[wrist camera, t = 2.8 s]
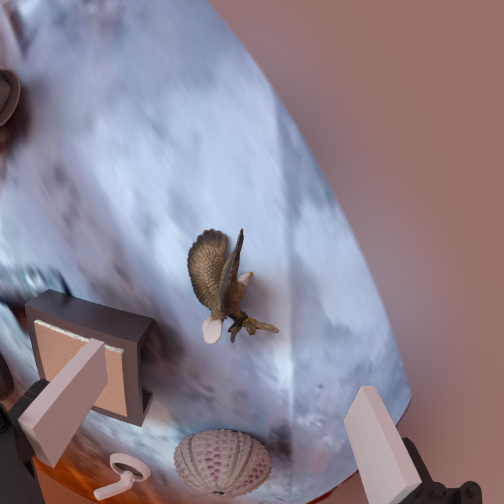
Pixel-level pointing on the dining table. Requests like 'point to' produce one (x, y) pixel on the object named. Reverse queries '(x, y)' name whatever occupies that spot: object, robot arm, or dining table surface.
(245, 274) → the eagle figurine
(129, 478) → the vr controller
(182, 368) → the dining table surface
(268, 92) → the dining table surface
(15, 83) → the ceramic mug
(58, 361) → the dark boxy piece
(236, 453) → the sea urchin shell
